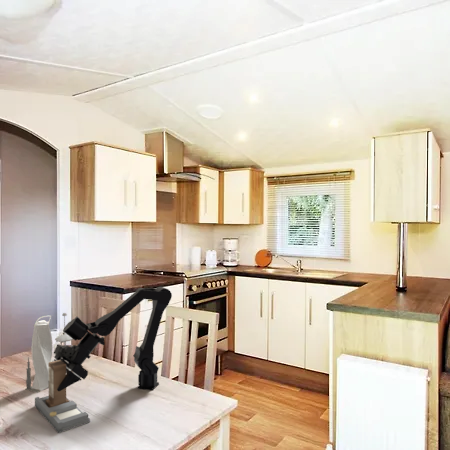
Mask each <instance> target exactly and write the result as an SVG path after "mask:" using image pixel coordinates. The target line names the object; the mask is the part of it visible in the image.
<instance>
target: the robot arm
mask: <svg viewBox="0 0 450 450" xmlns="http://www.w3.org/2000/svg"><path fill="white" fill-rule="evenodd" d="M172 297H173V295H172V291H170V289H168V288H166V287H164V286H158V287H156V288H154V287H153V288H148V287H147V288H142V287H139V288H137V289H136V290H135V291H134V292H133V293H132V294H131V295H130V296H129V297H128V298H126V299H125V300H124V301H123V302H121V304H119V305H118V306H117V307H116V308H114V309H113V310H112V311H111V312H108V313H106V314H104V315H102V316H101V317H98V319H96V320H95V321H91V322H88V323H85V322H84V321H83V320H81V318H80V317H79V316H75V317H74V318H73V319H71V320H70V321H68V322H67V324H65V328H63V330H62V332H63V333H64V332H65V334H67V335H68V336H70V337H71V338H72V339H73V341H79V342H78V344H77V345H76V344H73V345H72V347H69V346H63V345H64V344H63V345H61V344H59V343H57V344H56V347H55V349H54V350H53V354H54V356H53V357H54V360H53V361H57V360H61V361H62V362H64V363H65V364H66V367H68V368H69V369H70V370H71V371H70V370H68V369H67V368H66V376H65V378H64V379H63V381H62V382H61V384H60V385H59V387H58V388H57V390H58V391H61V390H63V389H65V388H66V389H67V388H68V387H70V386H72V385H74V384H75V383H77V382H79V381H80V382H81V381H82V380H86V378H87V377H88V375H89V370H87V369H86V368H84V367H83V364H84V363H85V361H86V360H87V359H88V360H89V359H90V358H91V353H93V351H94V349H95V348H96V347H97V346H98V345H102V346H105V343H106V342H105V337H107V336H109V335H110V334H111V333H112V332H113V331H114V330H115V328H116V327H117V325H118V324H119V322H120V321H121V320H122V319H123V318H124V317H125V316H126V315H128V313H130V312H131V311H132V310H133V309H134V308H136V307H137V306H138V305H139V304H140V303H141V302H143V301H144V300H150V301H151V304H152V310H151V312H150V315H149V316H150V317H149V320H148V323H147V327H146V330H145V333H144V337H143V341H142V343H141V344H140V346H136V347H135V352H134V354H133V361H134V363H135V364H136V366H137V367H138V368H139V369H140V371H139V373H138V374H137V375H138V381H137V383H138V386H137V389H138V390H149V391H153V390H154V389H156V387H158V386H159V384H160V382H159V381H158V372H159V366H158V365H157V364H156V363H155V362H154V346H155V342H156V338H157V335H158V332H159V328H160V324H161V322H162V318H163V313H164V312H165V310H166V309H167V307H168V306H169V304H170V302H171V301H172ZM55 354H56V355H55ZM55 358H56V359H57V360H55ZM48 382H49V381H48Z"/></svg>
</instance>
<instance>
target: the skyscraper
mask: <svg viewBox="0 0 450 450" xmlns="http://www.w3.org/2000/svg"><path fill="white" fill-rule="evenodd" d="M47 317H49V319H48V321H46V320H43V319H42V318H47ZM40 319H42V320H40ZM51 319H52V315H50V314H49V315H43V316H42V315H41V316H40V317H38V318H37V319H36V321H35V324H33V332H32V336H31V337H32V339H31V360H32V366H33V370H34V377H33V382H32V379H31V374H32V373H31V372H32V371H31V370H32V369H31V367H30V365H31V364H30V363H31V361H30V357H27V368H26V381H25V385H26V388H25V390H26V391H30V392H34V393H37V394H38V393H40V392H43V391H45V390H48V389H49V382H48V381H49V372H48V363H49V362H52V356H53V337H52V333H51V332H52V331H51V328H50V322H51Z"/></svg>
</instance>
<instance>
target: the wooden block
mask: <svg viewBox="0 0 450 450" xmlns="http://www.w3.org/2000/svg"><path fill="white" fill-rule="evenodd" d="M48 372H49V388H48V396H49V399H48V400H46V405H47V406H48V407H49V408H50V407H53V406H57V405H60V404H64V403H67V402H69V400H70V399H69V398H67V387H66V388H65V389H63V390H61V391H58V390H57V388H58V387H59V385H60V384H61V382H62V381H63V379H64V378H65V376H66V364H65V363H64V362H62V361H61V360H57V361H54V360H53V361H51V362H49V363H48ZM68 399H69V400H68Z"/></svg>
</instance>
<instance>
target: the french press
mask: <svg viewBox="0 0 450 450" xmlns="http://www.w3.org/2000/svg"><path fill="white" fill-rule="evenodd" d="M62 316H63V320H64V321H63V323H64V325H63V327H64V328H65V326H66V317H67V316H68V314H67V312H62ZM64 328H63V329H64ZM63 333H64V334H59V335H58V336H57V337H56V338H55V337H54V341H55V342H58V343H59V342H60V345H62V344H63V343H64V344H63V346H69V347H72V346H73V345H72V344H66V342H70V341H74V339H72V338H71V337H70V336H68V335H67V334H66V333H65V332H63ZM55 355H56V354H54V356H55ZM54 359H55V360H57V359H56V358H54ZM66 368H67V369H68V370H70V369H69V368H68V367H66ZM70 371H71V370H70Z"/></svg>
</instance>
